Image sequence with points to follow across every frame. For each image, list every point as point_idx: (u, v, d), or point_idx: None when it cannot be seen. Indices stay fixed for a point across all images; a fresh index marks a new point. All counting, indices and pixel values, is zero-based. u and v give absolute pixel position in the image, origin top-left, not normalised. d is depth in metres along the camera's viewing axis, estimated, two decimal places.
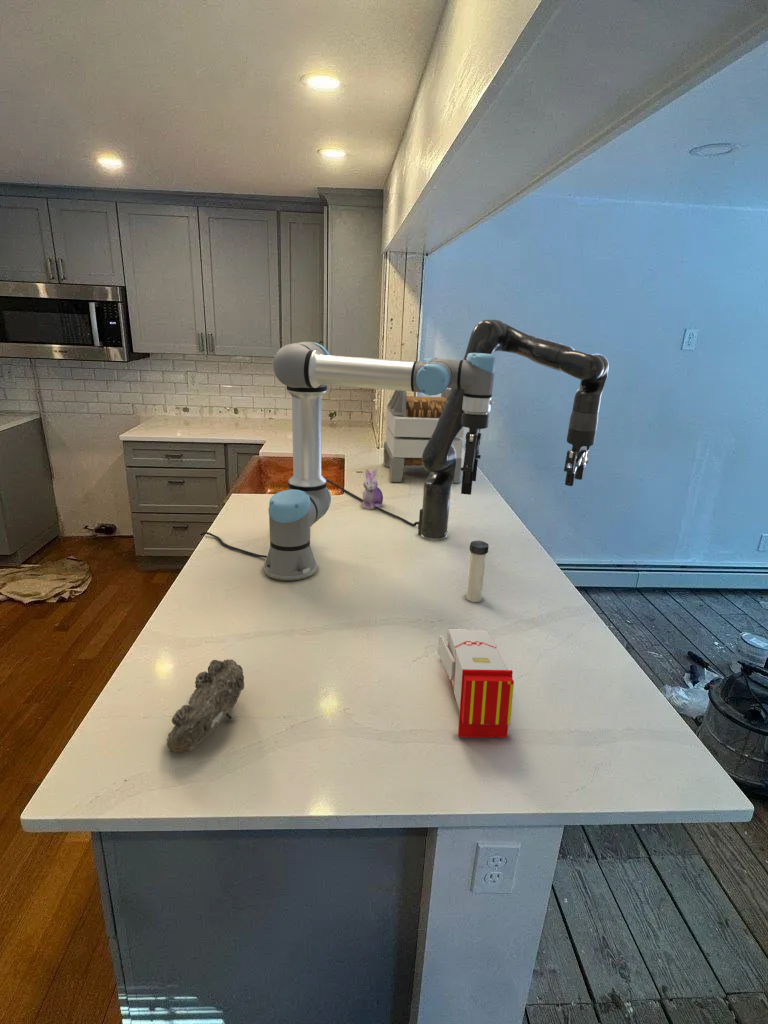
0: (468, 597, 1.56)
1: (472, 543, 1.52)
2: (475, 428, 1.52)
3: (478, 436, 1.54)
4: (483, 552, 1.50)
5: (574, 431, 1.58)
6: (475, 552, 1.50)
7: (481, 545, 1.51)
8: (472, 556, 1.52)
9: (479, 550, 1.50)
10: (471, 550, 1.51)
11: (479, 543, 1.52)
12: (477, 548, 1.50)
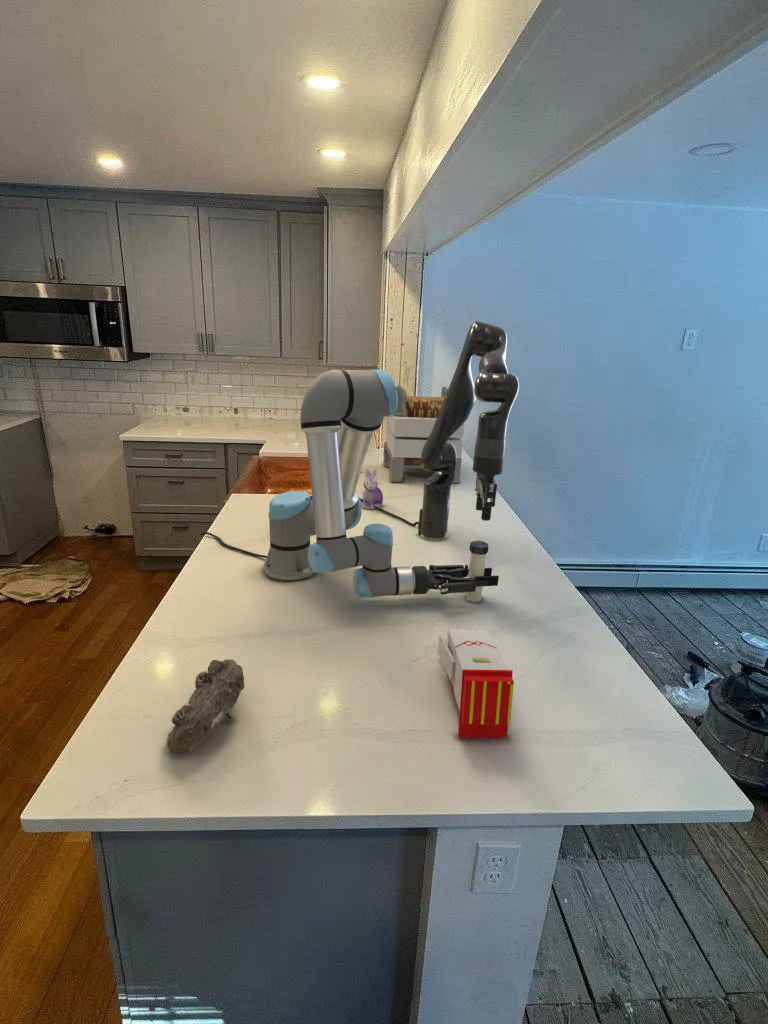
0: (468, 597, 1.56)
1: (472, 543, 1.52)
2: None
3: None
4: (483, 552, 1.50)
5: None
6: (475, 552, 1.50)
7: (481, 545, 1.51)
8: (472, 556, 1.52)
9: (479, 550, 1.50)
10: (471, 550, 1.51)
11: (479, 543, 1.52)
12: (477, 548, 1.50)
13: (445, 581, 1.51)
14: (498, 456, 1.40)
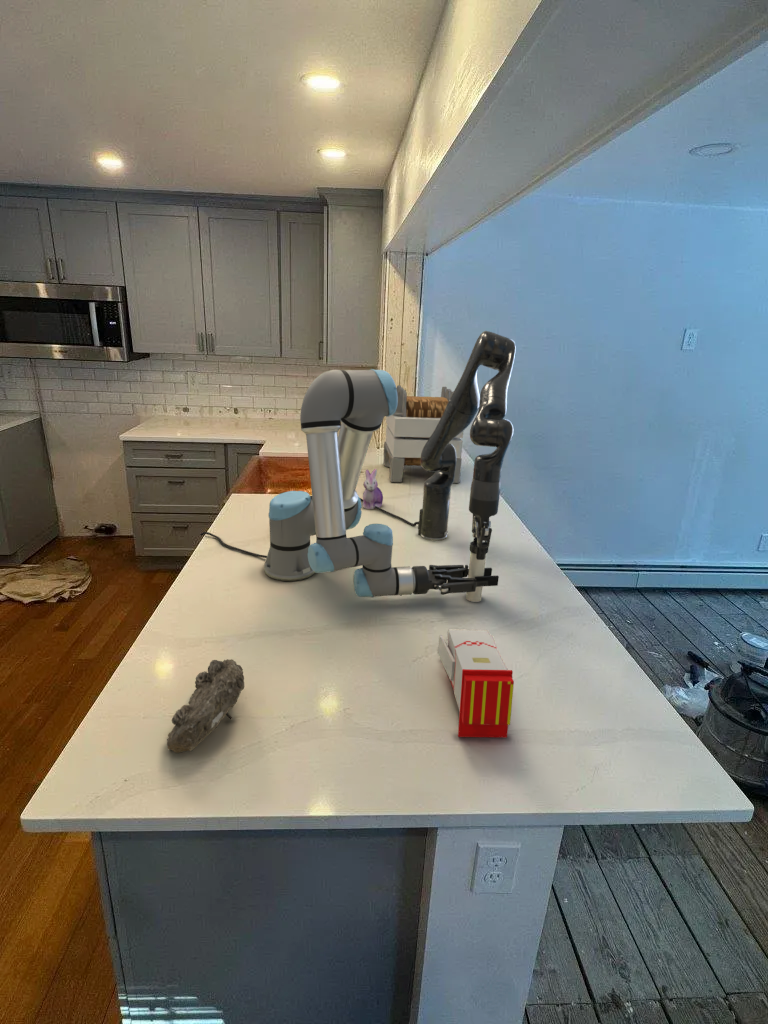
0: (468, 597, 1.56)
1: (472, 543, 1.52)
2: None
3: None
4: None
5: None
6: (475, 552, 1.50)
7: None
8: (472, 556, 1.52)
9: None
10: (471, 550, 1.51)
11: None
12: None
13: (445, 581, 1.51)
14: (493, 498, 1.44)
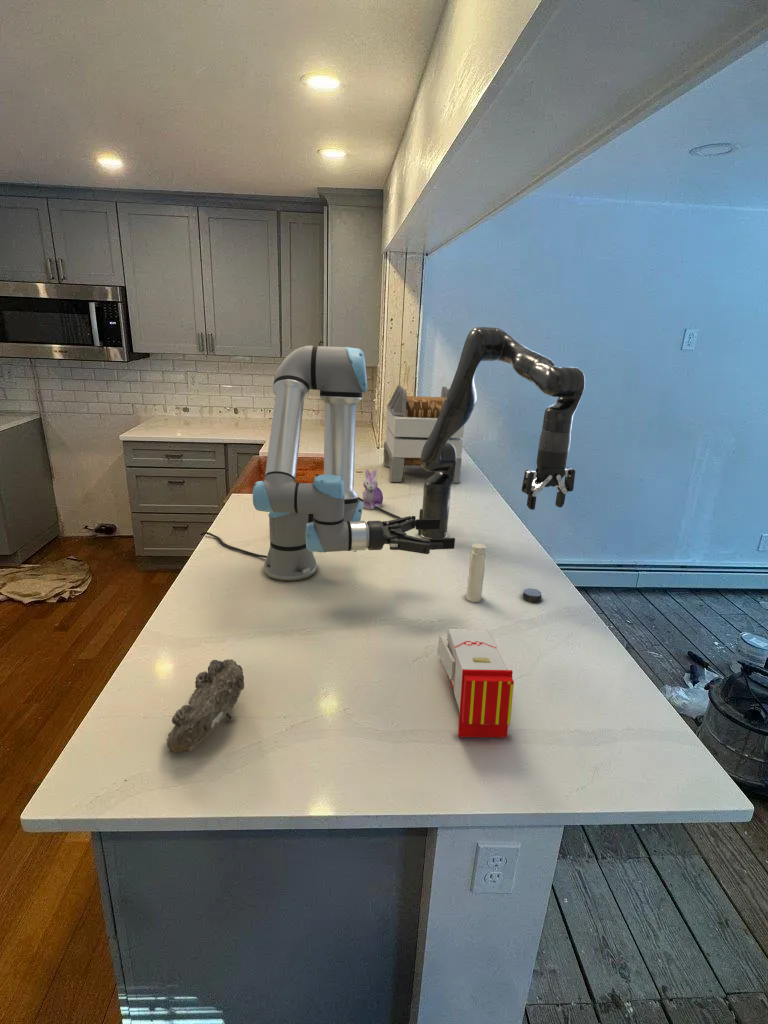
0: (468, 597, 1.56)
1: (537, 591, 1.59)
2: None
3: None
4: None
5: (539, 450, 1.44)
6: None
7: (529, 591, 1.58)
8: (472, 556, 1.52)
9: None
10: None
11: (533, 592, 1.58)
12: None
13: (401, 536, 1.44)
14: None
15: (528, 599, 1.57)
